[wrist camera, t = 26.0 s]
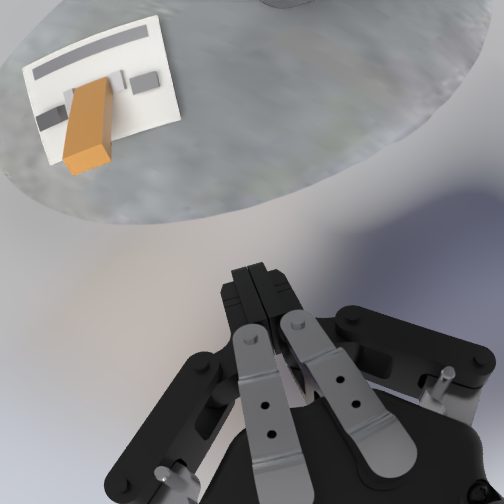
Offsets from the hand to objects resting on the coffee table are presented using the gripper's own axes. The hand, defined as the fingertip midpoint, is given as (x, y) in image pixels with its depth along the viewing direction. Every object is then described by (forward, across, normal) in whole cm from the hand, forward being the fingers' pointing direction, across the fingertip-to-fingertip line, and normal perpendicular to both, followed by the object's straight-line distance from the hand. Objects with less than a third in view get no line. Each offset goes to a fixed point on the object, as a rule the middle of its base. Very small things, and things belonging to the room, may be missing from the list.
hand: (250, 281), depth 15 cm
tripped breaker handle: (+26, -10, +11) cm, 30 cm away
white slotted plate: (+33, -10, +11) cm, 36 cm away
